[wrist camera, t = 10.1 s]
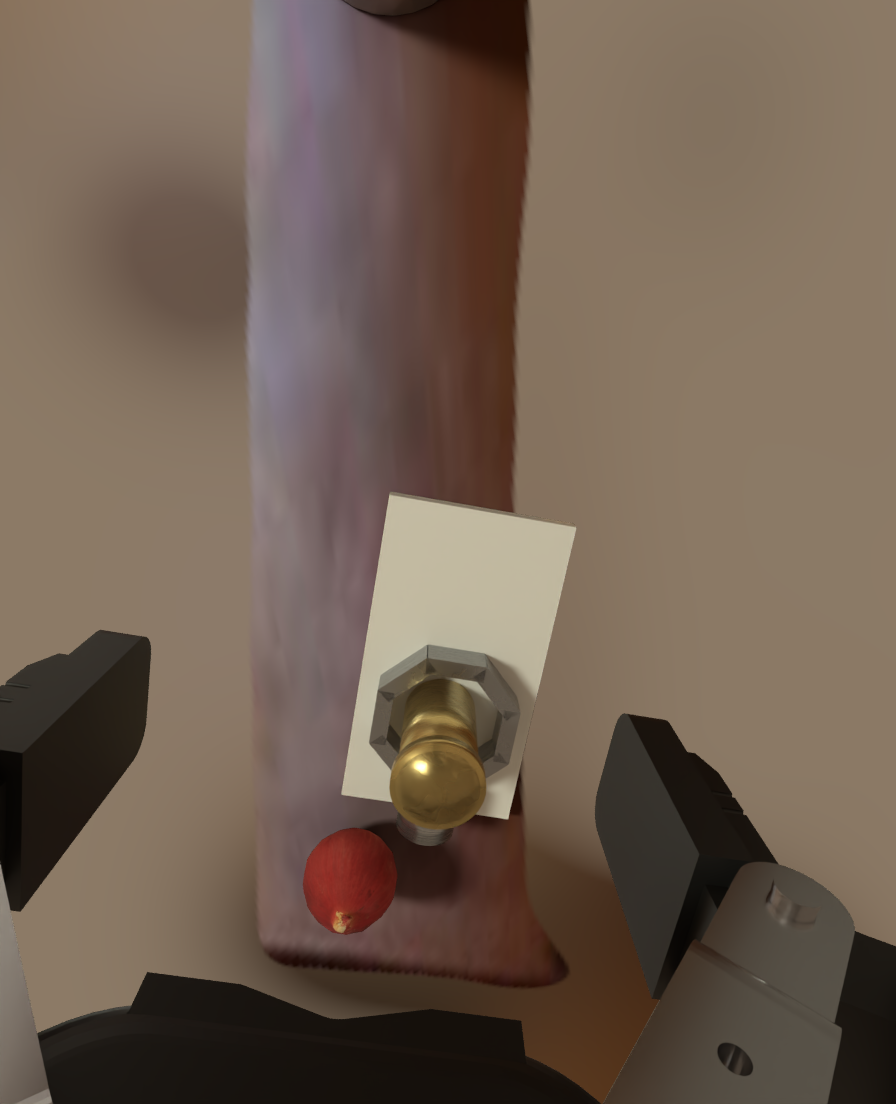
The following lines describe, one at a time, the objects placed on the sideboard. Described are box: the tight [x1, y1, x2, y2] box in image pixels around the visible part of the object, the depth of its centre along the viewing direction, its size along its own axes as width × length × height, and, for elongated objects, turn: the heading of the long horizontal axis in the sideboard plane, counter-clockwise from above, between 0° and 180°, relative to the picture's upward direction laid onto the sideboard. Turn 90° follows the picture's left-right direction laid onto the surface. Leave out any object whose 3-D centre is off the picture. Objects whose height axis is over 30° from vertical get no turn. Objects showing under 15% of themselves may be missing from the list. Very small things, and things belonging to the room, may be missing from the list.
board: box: [341, 492, 577, 819], centre depth 44 cm, size 20×11×1 cm, turn 170°
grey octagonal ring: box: [369, 644, 521, 846], centre depth 43 cm, size 11×9×4 cm
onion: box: [303, 828, 397, 935], centre depth 44 cm, size 6×6×8 cm
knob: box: [389, 679, 486, 830], centre depth 40 cm, size 5×5×8 cm
